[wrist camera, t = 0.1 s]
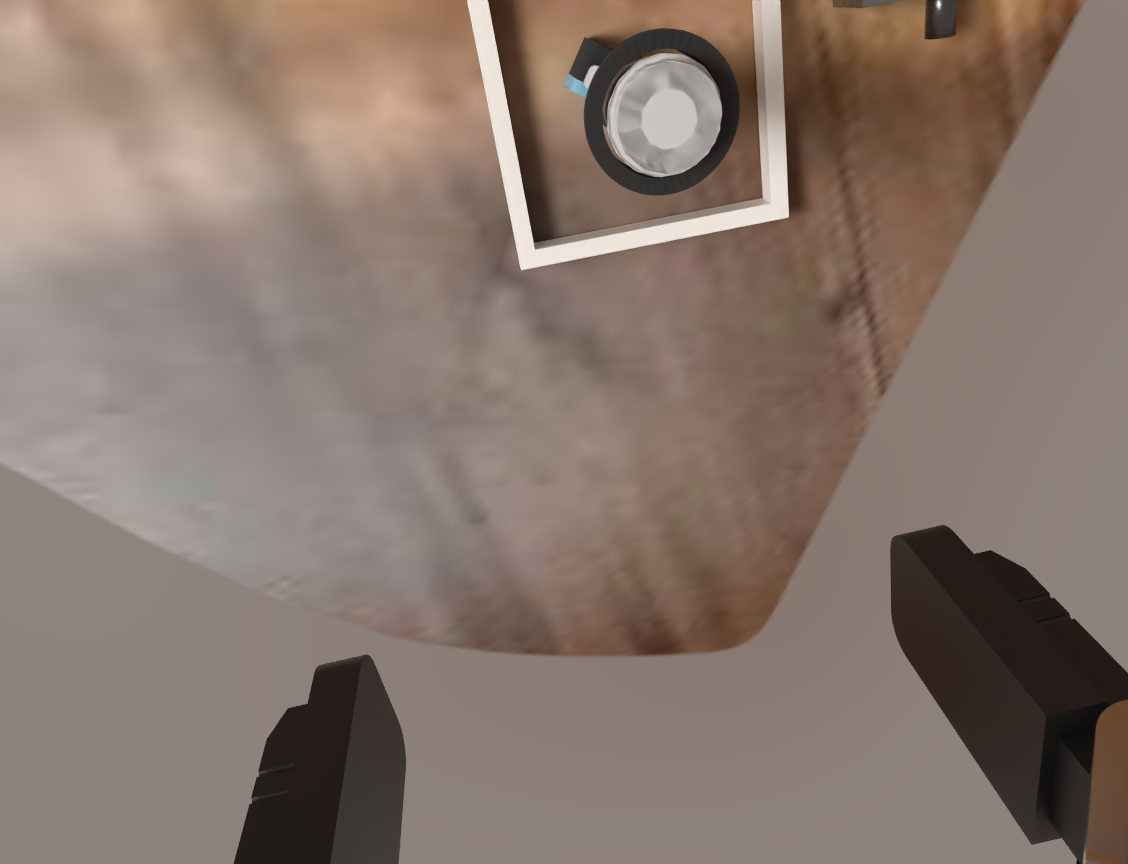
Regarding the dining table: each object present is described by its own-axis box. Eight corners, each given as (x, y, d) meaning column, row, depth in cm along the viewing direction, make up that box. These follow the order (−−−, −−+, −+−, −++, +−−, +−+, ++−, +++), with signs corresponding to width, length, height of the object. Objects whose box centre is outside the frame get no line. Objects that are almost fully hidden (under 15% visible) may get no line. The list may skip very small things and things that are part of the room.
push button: (727, 70, 36) (811, 94, 28) (670, 185, 38) (731, 241, 30) (591, -2, 35) (634, -2, 26) (539, 122, 37) (562, 161, 28)
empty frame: (459, -40, 33) (459, -41, 32) (766, -99, 34) (776, -102, 33) (519, 262, 39) (521, 270, 38) (780, 211, 40) (788, 217, 38)
